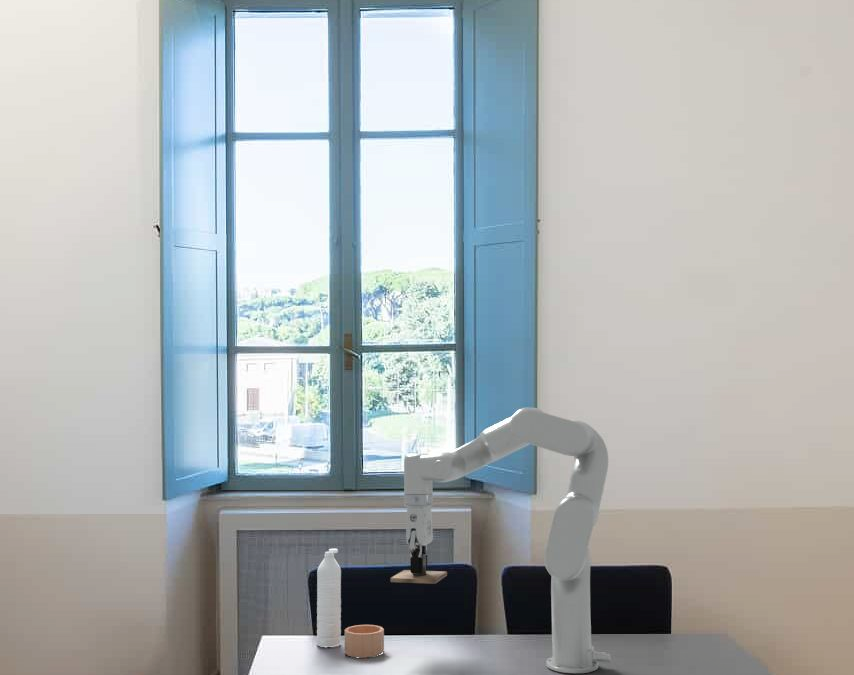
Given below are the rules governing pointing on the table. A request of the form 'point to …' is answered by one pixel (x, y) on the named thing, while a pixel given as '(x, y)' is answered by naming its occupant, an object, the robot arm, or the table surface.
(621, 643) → the table surface
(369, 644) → the bowl
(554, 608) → the robot arm
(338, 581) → the water bottle
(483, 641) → the table surface
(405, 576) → the lid
